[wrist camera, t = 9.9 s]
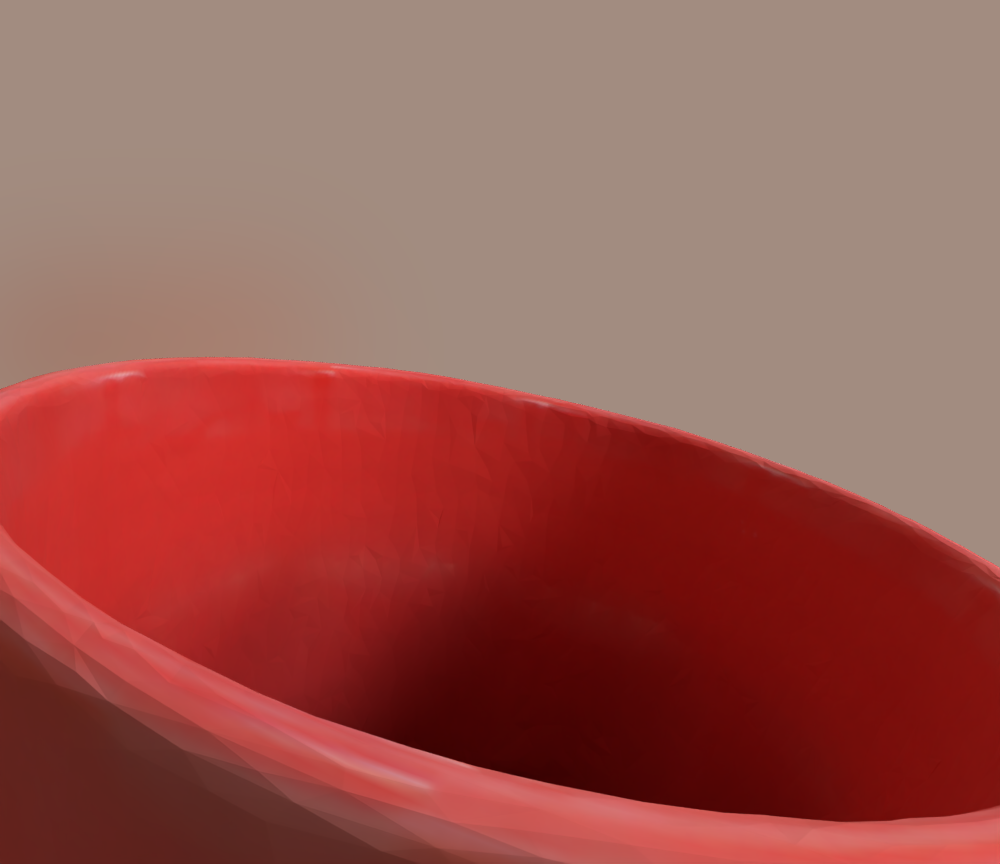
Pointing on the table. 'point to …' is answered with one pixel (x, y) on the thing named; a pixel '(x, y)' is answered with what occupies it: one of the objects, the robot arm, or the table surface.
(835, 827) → the flower pot
